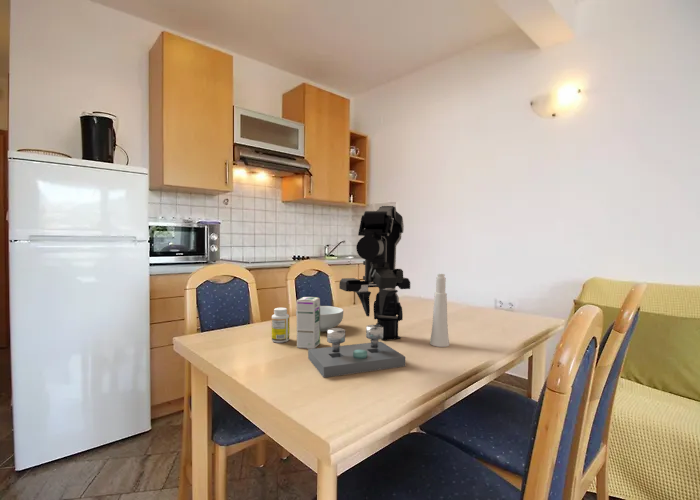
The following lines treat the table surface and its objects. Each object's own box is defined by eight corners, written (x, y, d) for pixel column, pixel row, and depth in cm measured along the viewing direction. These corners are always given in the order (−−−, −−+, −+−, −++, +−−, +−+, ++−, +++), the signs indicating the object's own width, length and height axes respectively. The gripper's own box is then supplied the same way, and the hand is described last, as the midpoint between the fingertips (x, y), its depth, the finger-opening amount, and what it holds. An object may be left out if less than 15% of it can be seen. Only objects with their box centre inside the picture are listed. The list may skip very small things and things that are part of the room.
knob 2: (378, 343, 98) (378, 324, 98) (385, 348, 94) (386, 328, 93) (363, 345, 96) (363, 325, 96) (370, 350, 92) (370, 329, 92)
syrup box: (314, 349, 103) (315, 300, 103) (295, 347, 105) (296, 299, 104) (320, 343, 109) (320, 297, 108) (302, 342, 110) (302, 296, 110)
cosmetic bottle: (453, 345, 109) (455, 274, 108) (439, 348, 106) (441, 275, 105) (439, 340, 114) (441, 272, 113) (425, 343, 111) (427, 273, 110)
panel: (380, 349, 104) (380, 341, 103) (405, 366, 91) (405, 356, 90) (308, 358, 95) (308, 349, 95) (323, 377, 82) (323, 367, 82)
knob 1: (341, 347, 94) (341, 327, 94) (347, 353, 90) (347, 331, 89) (324, 349, 92) (325, 328, 92) (330, 355, 88) (330, 333, 88)
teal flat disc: (363, 353, 92) (363, 349, 92) (369, 357, 89) (369, 353, 89) (350, 355, 91) (351, 350, 91) (356, 359, 88) (356, 354, 88)
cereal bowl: (348, 325, 133) (348, 306, 133) (336, 337, 117) (336, 315, 117) (305, 322, 137) (305, 304, 137) (288, 333, 121) (288, 312, 120)
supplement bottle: (281, 337, 115) (282, 306, 115) (292, 340, 112) (293, 308, 112) (267, 340, 111) (268, 308, 111) (278, 344, 108) (279, 311, 107)
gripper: (355, 260, 83) (354, 325, 84) (422, 259, 90) (421, 319, 91) (339, 257, 94) (338, 315, 94) (400, 257, 100) (399, 311, 101)
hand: (374, 315), depth 95 cm, fingers open, 4 cm apart
